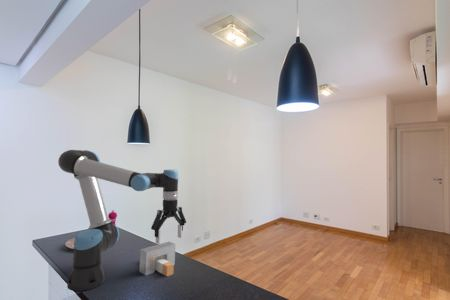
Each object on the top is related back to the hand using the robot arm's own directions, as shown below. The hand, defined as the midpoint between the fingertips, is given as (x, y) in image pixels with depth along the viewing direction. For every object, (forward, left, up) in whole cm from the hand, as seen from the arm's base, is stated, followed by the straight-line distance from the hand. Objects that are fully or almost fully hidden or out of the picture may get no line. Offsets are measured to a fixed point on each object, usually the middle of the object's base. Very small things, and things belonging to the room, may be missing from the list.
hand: (169, 240), depth 127 cm
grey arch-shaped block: (+6, +7, -17) cm, 19 cm away
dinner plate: (+39, +61, -17) cm, 74 cm away
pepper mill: (+57, +54, -17) cm, 80 cm away
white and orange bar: (+7, +7, -17) cm, 20 cm away
